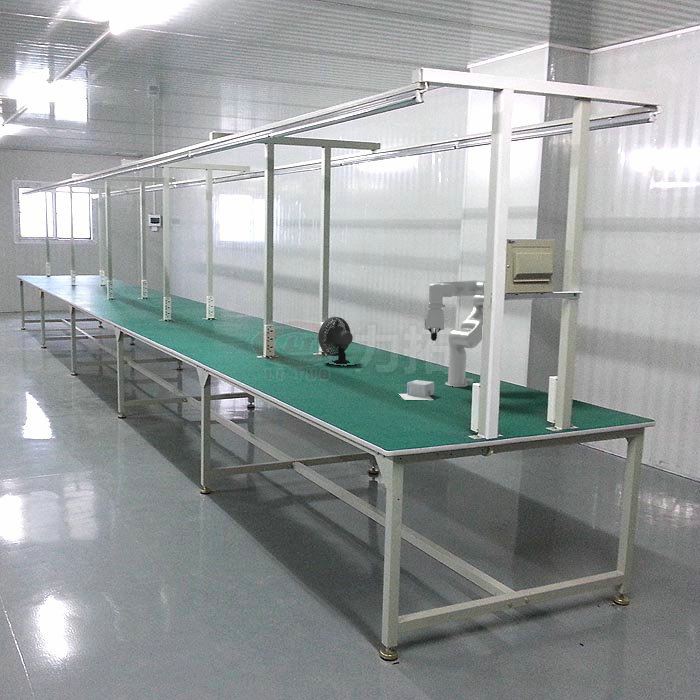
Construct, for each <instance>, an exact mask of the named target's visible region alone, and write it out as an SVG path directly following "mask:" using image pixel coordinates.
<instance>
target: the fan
mask: <svg viewBox="0 0 700 700" xmlns="http://www.w3.org/2000/svg"><path fill="white" fill-rule="evenodd" d="M353 337H354V336H353V334H352V333H351V328H350V326H349V323H348V322H347V321H346V320H345V319H344V318H342V317H339V316H332V317H329V318H327V319H326V320H324V321H323V323H322V324H321V325H320V328H319V331H318V338H317V339H318V343H319V348H320V349H321V350H322V352H323V353H324V354H326V355H327V356H332V357H337V356H338V359H334V360H335V361H333V360H331V361H332V362H334V363H336V364H347V363H350V362H349V361H350V360H348V359H347V356H346V355H347V353H346V350H347V349H348V347H349V345H350V344H352V342H353Z"/></svg>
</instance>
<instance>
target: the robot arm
mask: <svg viewBox="0 0 700 700" xmlns="http://www.w3.org/2000/svg"><path fill="white" fill-rule="evenodd" d="M485 281H486V280H485ZM485 281H484V280H461V281H441V282H433V283H430V284H429V287H428V305H427V306H428V308H426V310H425V316H424V330H427V331H429V333H430V340H432V341H433V342H434V341H435V342H436V341H437V339H438V334H439V332H440V331H443V330H444V329H445V311H444V309H443V308H445V307H446V305H445V304H444V302H443V301H444V300H443V299H444V298H452V297H462V298H463V297H469V296H470V297H471V296H472V301H471V304H472V306H471V307H472V309H471V312H470V314H469V315H468V316H467V317H466V319H464V320H463V321H462V323H461V325H460V329H453V330H451V331H450V332H449V333H448V337H447V338H448V345H449V347H448V348H449V349H448V351H449V353H448V355H449V356H448V357H449V358H448V361H449V362H448V375H447V381H445V383H444V384H445V386H448V387H452V386H453V387H454V388H465V387H468V383H474V378H467V377H466V371H467V370H466V368H467V367H466V366H467V352H466V349H474V348H476V347H477V346H479V344H480V343H481V342H482V340H483V339H482V325H483V312H484V308H483V302H484V283H485Z"/></svg>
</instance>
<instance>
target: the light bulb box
mask: <svg viewBox="0 0 700 700" xmlns="http://www.w3.org/2000/svg"><path fill="white" fill-rule="evenodd" d="M406 394H407V395H414V396H421V397H427V396H429V397H431V396H433V395H434V394H435V382H434V381H428V380H420V379H415V380H411V381H408V382H407V383H406Z"/></svg>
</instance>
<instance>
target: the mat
mask: <svg viewBox="0 0 700 700" xmlns="http://www.w3.org/2000/svg"><path fill="white" fill-rule="evenodd" d="M398 394H399V395H400V396H401V397H400V396H399V395H398V396H399V397H400V398H402V399H403V400H404V401H405V400H428V401H434V399H433V398H432V397H431V396H427V397H421V396H414V395H407V393H398Z"/></svg>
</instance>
